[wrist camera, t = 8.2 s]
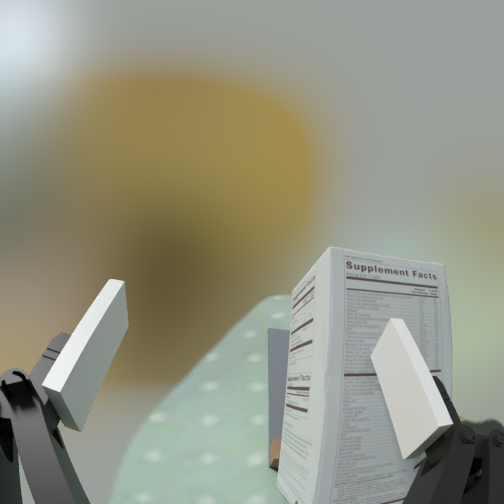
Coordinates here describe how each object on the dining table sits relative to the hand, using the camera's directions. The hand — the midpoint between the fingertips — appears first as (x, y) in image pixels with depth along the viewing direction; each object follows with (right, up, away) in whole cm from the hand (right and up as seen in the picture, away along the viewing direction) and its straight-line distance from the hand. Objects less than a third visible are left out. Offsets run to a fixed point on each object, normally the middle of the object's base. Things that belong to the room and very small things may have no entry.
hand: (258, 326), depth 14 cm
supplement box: (+7, -14, +1) cm, 15 cm away
